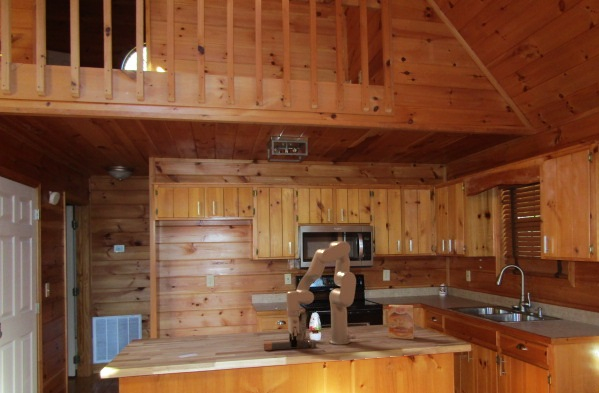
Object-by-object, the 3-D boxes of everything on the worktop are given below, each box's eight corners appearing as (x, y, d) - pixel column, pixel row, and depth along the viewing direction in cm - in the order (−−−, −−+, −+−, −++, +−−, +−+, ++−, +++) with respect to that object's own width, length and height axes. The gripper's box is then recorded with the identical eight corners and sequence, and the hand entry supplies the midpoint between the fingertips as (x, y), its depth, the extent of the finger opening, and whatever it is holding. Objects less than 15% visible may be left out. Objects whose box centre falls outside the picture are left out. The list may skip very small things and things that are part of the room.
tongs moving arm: (311, 346, 258) (311, 340, 258) (312, 347, 256) (311, 341, 256) (264, 349, 252) (264, 343, 253) (264, 350, 250) (264, 344, 250)
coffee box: (288, 339, 278) (288, 312, 279) (293, 337, 283) (293, 310, 285) (301, 340, 273) (301, 313, 275) (306, 338, 279) (306, 311, 281)
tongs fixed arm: (314, 345, 261) (314, 339, 261) (316, 347, 257) (316, 341, 257) (263, 349, 254) (263, 342, 255) (264, 350, 250) (264, 344, 250)
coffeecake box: (388, 338, 278) (387, 306, 279) (389, 335, 284) (389, 304, 286) (413, 339, 273) (412, 306, 275) (414, 336, 280) (413, 305, 282)
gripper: (302, 315, 250) (302, 349, 249) (296, 310, 267) (296, 342, 265) (289, 315, 249) (289, 349, 247) (284, 311, 265) (284, 342, 263)
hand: (293, 345), depth 256 cm, fingers open, 4 cm apart
